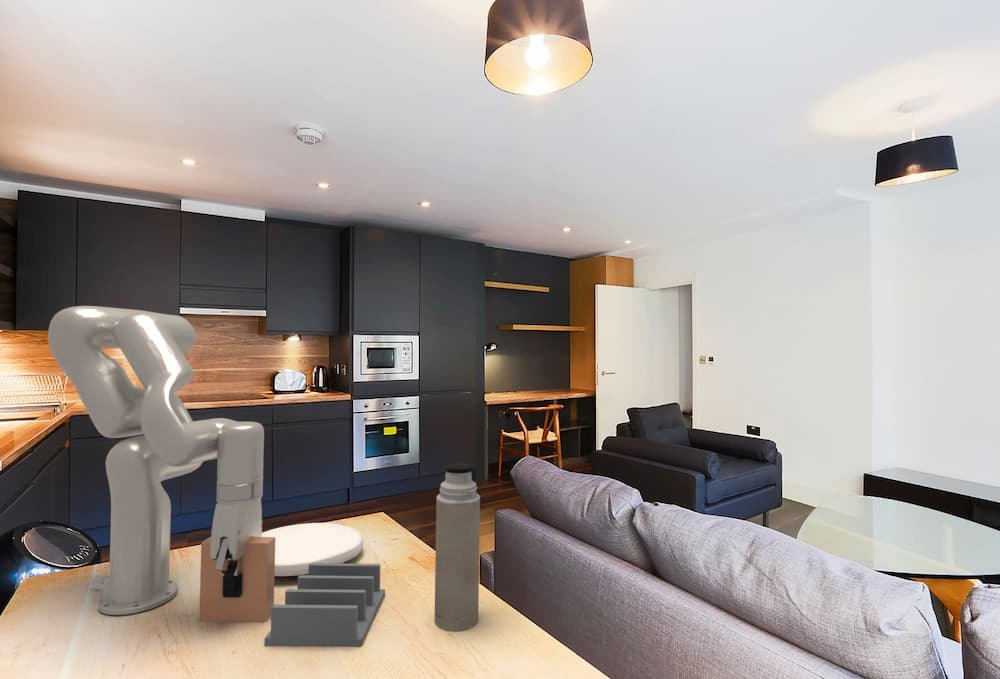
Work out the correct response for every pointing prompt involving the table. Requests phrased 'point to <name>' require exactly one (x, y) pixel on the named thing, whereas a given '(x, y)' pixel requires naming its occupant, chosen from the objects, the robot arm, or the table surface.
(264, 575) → the tile
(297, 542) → the plate
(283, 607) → the dish rack
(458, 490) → the thermos bottle
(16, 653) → the table surface
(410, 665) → the table surface
